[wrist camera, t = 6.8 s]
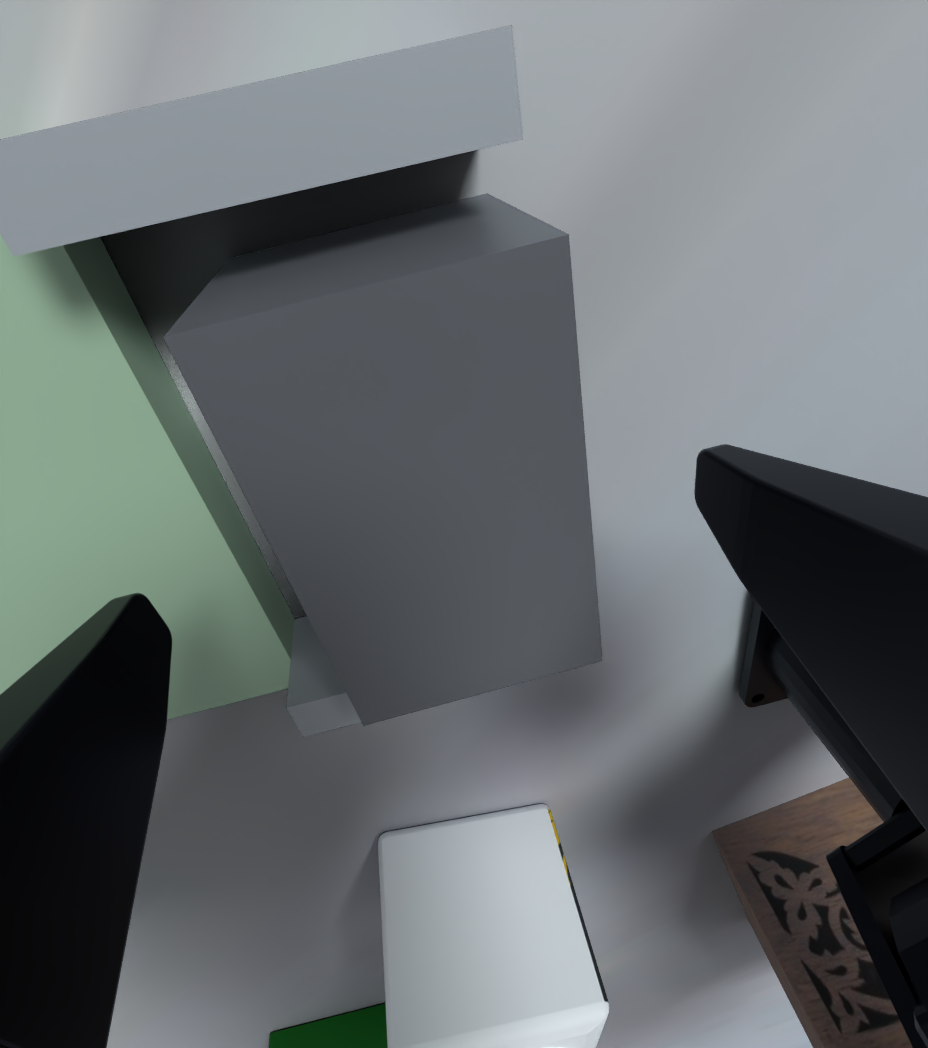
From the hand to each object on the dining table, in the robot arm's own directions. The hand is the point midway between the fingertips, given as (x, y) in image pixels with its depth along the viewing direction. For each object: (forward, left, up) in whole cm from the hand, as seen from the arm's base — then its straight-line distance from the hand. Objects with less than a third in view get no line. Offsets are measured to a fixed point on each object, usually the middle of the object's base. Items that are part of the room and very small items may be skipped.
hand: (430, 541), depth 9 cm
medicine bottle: (-21, +2, -5) cm, 22 cm away
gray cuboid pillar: (0, 0, -5) cm, 5 cm away
